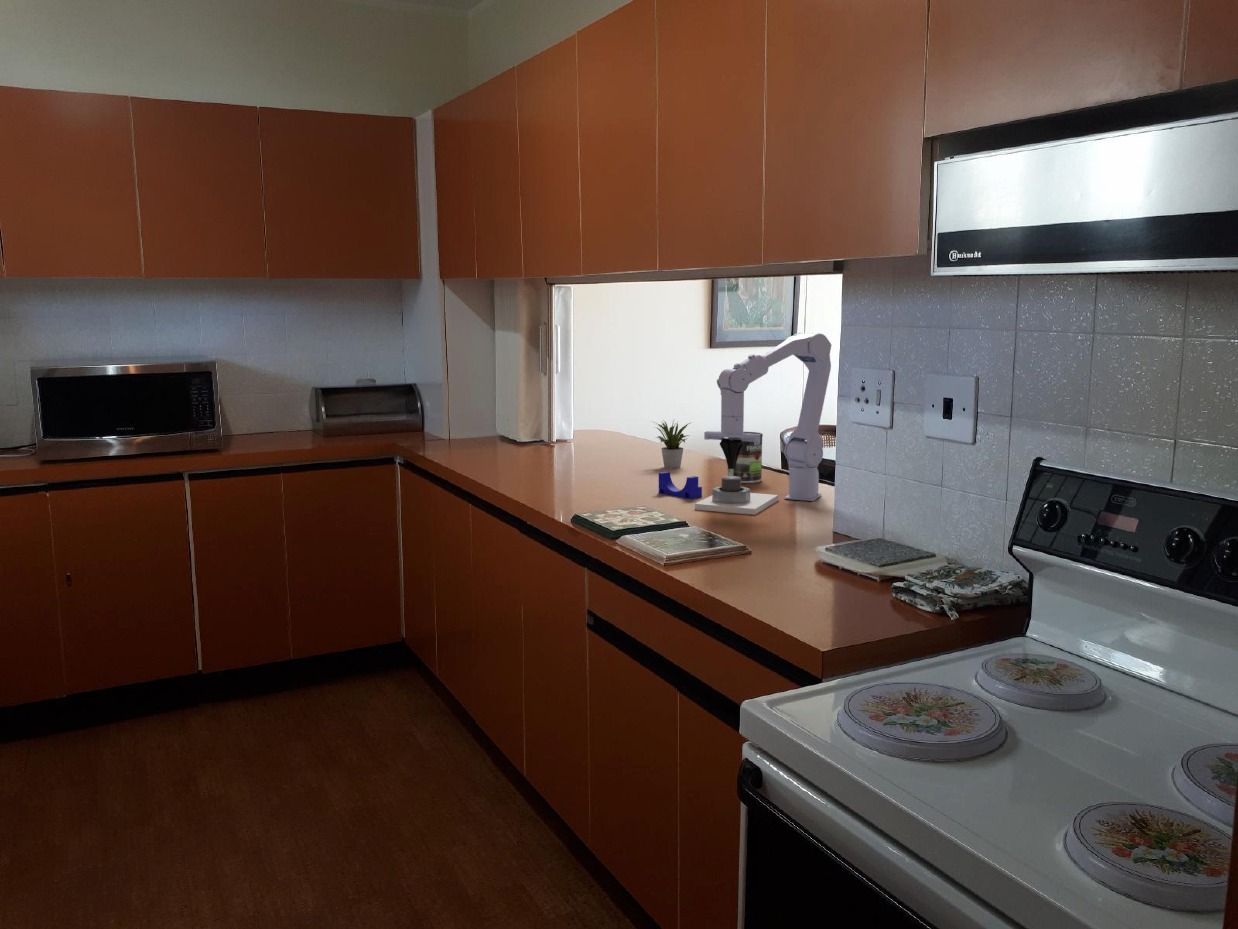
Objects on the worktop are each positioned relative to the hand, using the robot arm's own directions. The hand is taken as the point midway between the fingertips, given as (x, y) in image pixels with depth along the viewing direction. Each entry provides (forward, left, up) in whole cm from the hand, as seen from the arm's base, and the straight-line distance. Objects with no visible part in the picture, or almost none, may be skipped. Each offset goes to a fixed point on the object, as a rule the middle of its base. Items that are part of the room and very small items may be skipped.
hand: (731, 468), depth 256 cm
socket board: (-2, +1, -10) cm, 10 cm away
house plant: (-51, -39, -10) cm, 65 cm away
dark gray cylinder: (0, 0, -8) cm, 8 cm away
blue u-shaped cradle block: (-9, -18, -10) cm, 22 cm away
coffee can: (-38, -9, -10) cm, 40 cm away
